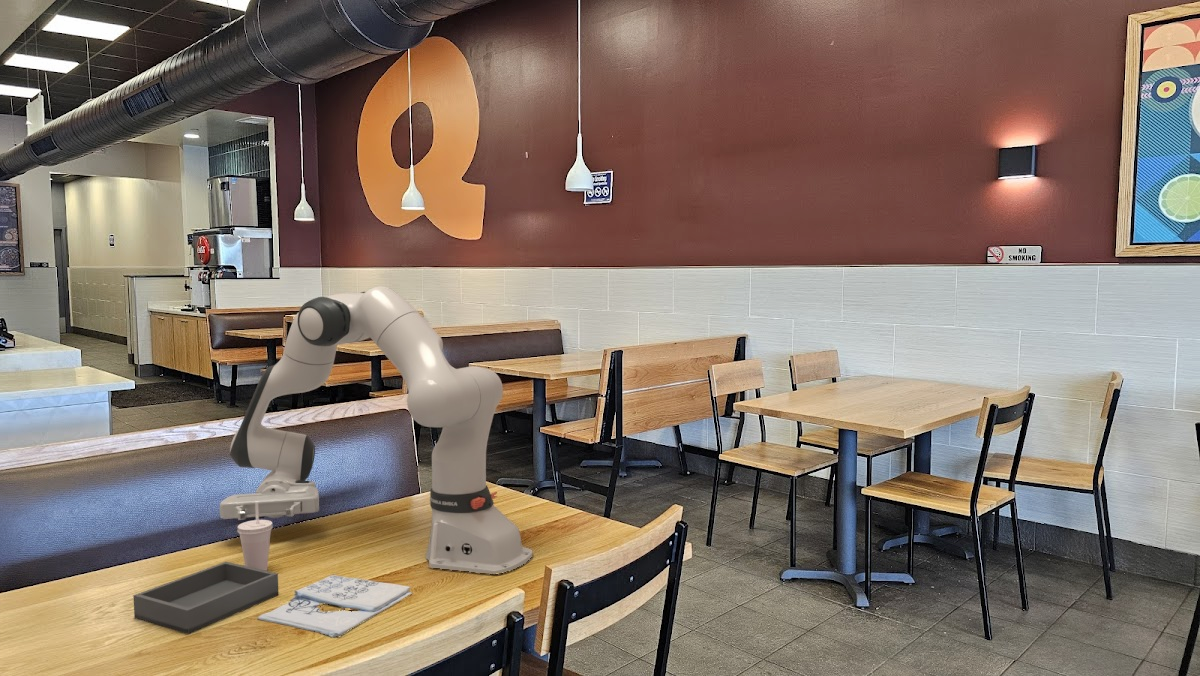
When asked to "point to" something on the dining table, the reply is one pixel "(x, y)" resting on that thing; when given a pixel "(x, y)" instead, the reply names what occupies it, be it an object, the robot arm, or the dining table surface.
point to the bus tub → (205, 597)
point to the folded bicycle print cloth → (339, 593)
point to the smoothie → (255, 541)
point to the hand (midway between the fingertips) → (265, 514)
